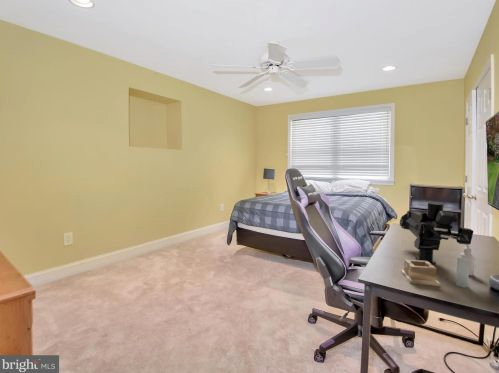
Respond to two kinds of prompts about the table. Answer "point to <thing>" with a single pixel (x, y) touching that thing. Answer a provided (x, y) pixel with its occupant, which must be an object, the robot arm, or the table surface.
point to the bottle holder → (420, 272)
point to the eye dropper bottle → (469, 257)
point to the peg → (462, 272)
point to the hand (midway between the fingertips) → (454, 240)
